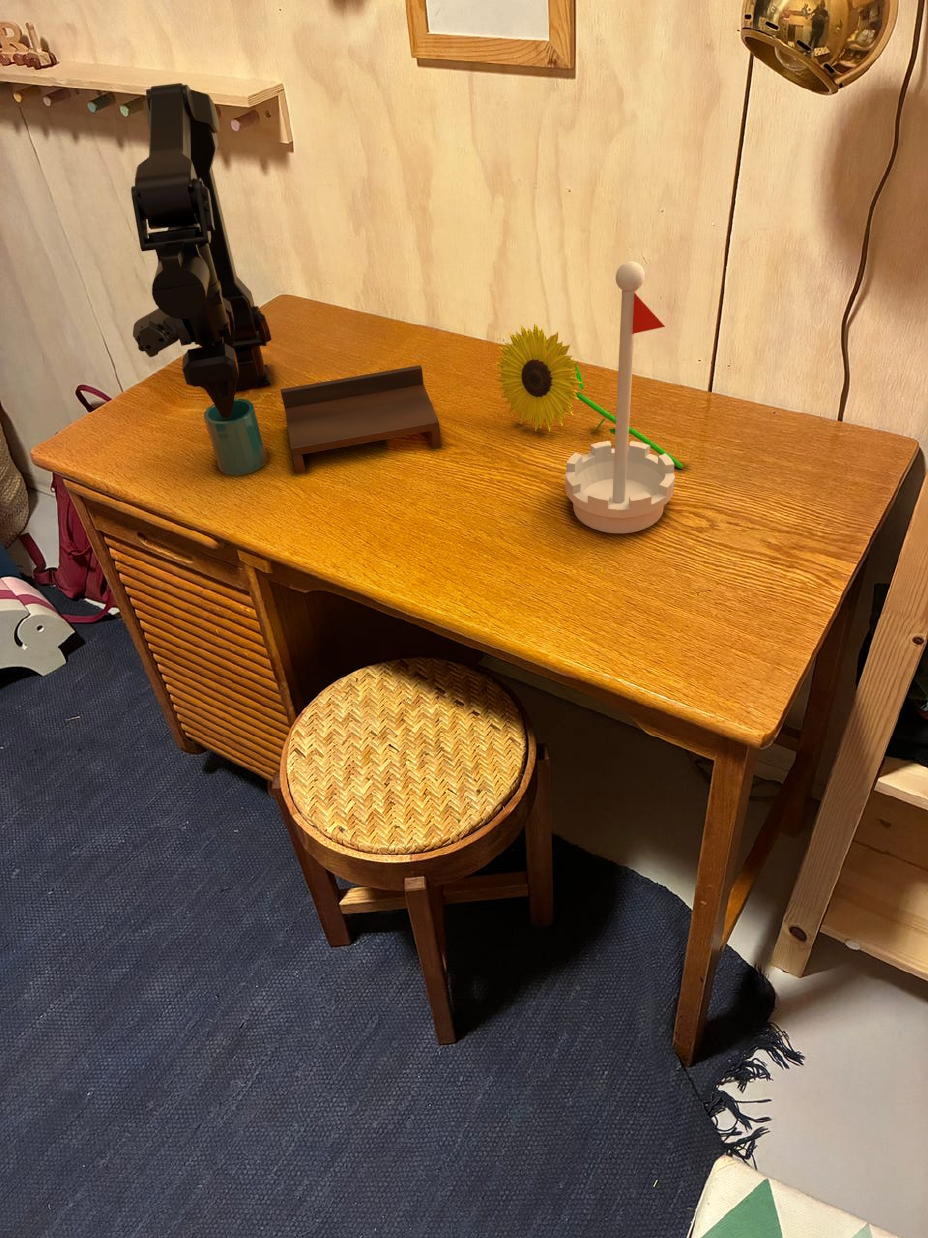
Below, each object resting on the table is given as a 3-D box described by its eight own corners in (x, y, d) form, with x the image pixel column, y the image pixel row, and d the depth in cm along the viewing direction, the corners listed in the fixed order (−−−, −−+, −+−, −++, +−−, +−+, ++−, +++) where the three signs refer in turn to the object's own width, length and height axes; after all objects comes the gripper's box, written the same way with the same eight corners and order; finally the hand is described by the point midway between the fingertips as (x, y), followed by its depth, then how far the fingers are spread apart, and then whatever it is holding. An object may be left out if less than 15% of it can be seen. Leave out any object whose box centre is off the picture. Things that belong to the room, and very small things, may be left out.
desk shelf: (289, 429, 132) (280, 388, 128) (425, 405, 134) (420, 364, 130) (296, 474, 123) (286, 431, 119) (441, 447, 125) (437, 404, 121)
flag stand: (543, 504, 114) (539, 264, 94) (618, 464, 119) (630, 228, 99) (617, 552, 106) (630, 301, 86) (695, 507, 111) (724, 260, 91)
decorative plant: (714, 417, 113) (534, 295, 123) (692, 430, 110) (507, 303, 119) (664, 506, 123) (501, 387, 133) (642, 521, 120) (475, 397, 129)
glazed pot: (218, 454, 128) (203, 403, 123) (265, 445, 129) (252, 394, 124) (219, 479, 124) (203, 427, 118) (268, 470, 124) (254, 418, 119)
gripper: (128, 265, 115) (165, 378, 126) (121, 327, 102) (162, 447, 112) (217, 251, 117) (246, 364, 127) (221, 310, 103) (253, 431, 114)
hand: (226, 400), depth 120 cm, fingers open, 9 cm apart
